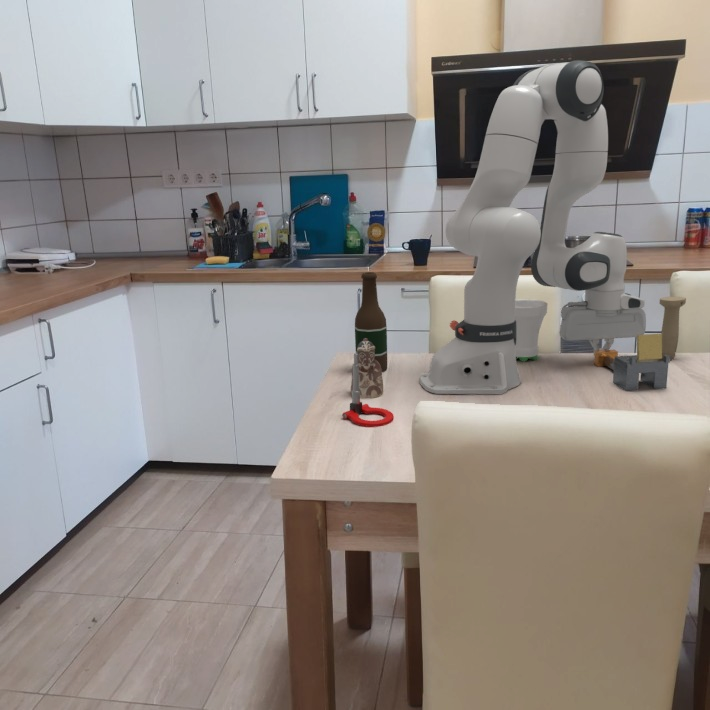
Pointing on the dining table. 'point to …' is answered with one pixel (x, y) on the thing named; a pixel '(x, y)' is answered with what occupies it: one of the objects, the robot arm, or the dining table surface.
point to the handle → (671, 324)
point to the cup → (528, 327)
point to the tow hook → (358, 408)
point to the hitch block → (629, 372)
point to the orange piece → (605, 358)
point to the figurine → (368, 371)
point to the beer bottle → (371, 320)
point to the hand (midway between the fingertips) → (600, 356)
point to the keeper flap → (649, 348)
